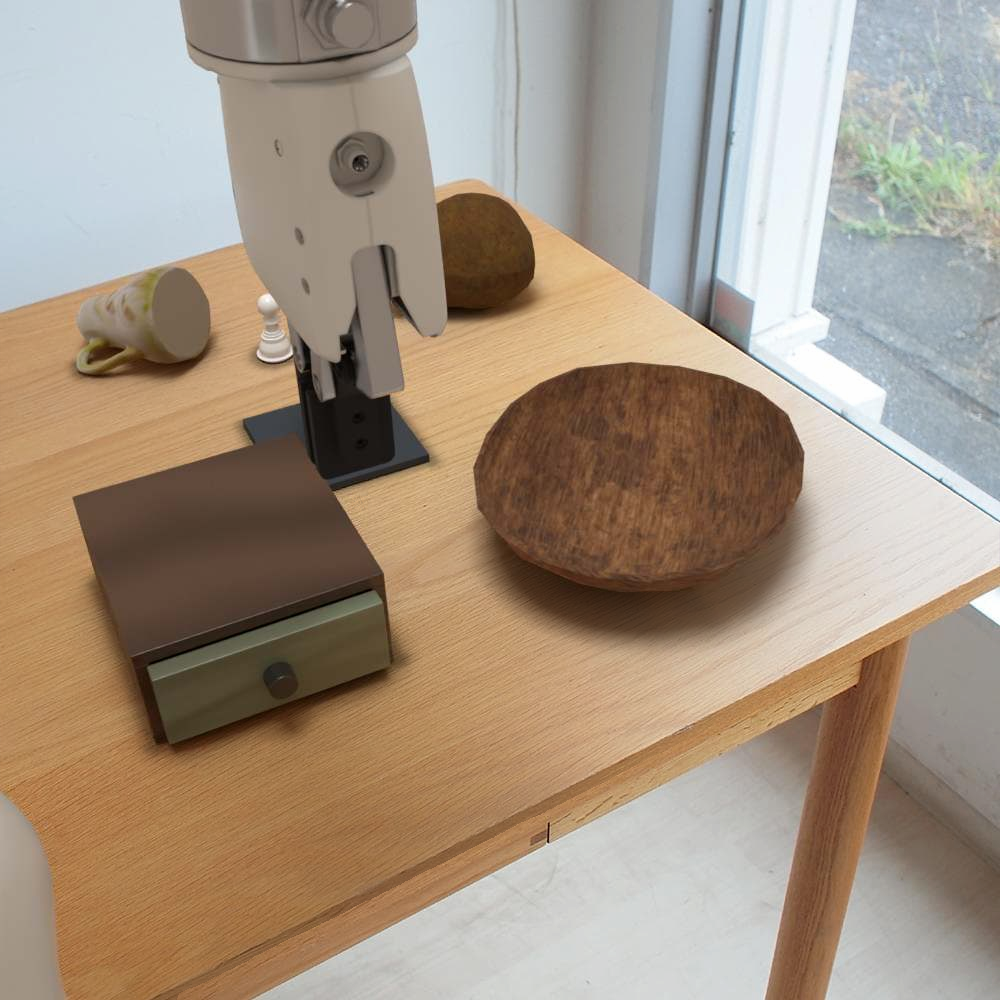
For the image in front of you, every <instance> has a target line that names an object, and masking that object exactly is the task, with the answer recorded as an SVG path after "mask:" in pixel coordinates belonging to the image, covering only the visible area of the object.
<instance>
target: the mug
mask: <svg viewBox="0 0 1000 1000" xmlns="http://www.w3.org/2000/svg"><path fill="white" fill-rule="evenodd" d="M211 319H212V318H211V306H210V301H209V299H208V297H207V295H206V293H205V290H204V289H203V287H202V286H201V284H200V282H199V281H198V280H197V278H195V276H194V275H193V274H192V273H190V272H189V271H188V270H187V269H185V268H182V267H179V266H159V267H154V268H151V269H148V270H146V271H143V272H142V273H139V274H137V275H136V276H134V277H132V278H131V279H130V280H129V281H127V282H126V283H124V284H123V285H122V286H120V287H119V288H117V289H116V290H115V291H113V292H110V293H106V294H101V295H94V296H90V297H89V298H86V300H84V301H83V303H81V305H80V307H79V310H78V313H77V316H76V324H77V328H78V330H79V333H80V334H81V336H82V338H83V339H84V340H85V341H86V342H87V343H88V344H87V345H86V346H85V347H83V348H82V349H81V350H80V352H79V353H78V354H77V357H76V363H75V364H76V369H77V370H78V371H79V372H80V373H82V374H85V375H94V376H95V375H100V374H104V373H106V372H109V371H111V370H113V369H116V368H117V367H120V366H122V365H124V364H128V363H130V362H134V361H137V360H138V361H139V360H141V359H145V360H147V361H151V362H154V363H159V364H177V363H181V362H184V361H187V360H192V359H195V358H197V357H199V356H200V354H201V353H202V352H203V351H204V349H205V347H206V345H207V343H208V341H209V338H210V333H211V326H212V325H211V323H212V321H211ZM105 348H119V349H123V351H121V352H119V353H116V354H115V355H113V356H110V358H108V359H106V360H104V361H101V362H100V363H95V364H88V363H89V359H90V357H91V356H92V354H93V353H95V352H96V351H97V350H101V349H105Z"/></svg>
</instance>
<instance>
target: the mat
mask: <svg viewBox="0 0 1000 1000" xmlns="http://www.w3.org/2000/svg"><path fill="white" fill-rule="evenodd" d="M391 411H392V422H393V434H394V445H395V456H394V458H393V459H392V460H391V461H390V462H388V463H385V464H381V465H378V466H374V467H371V468H367V469H364V470H361V471H357V472H354V473H350V474H347V475H343V476H340V477H337V478H333V479H329V480H326V479H325V480H326V481H327V483H328V485H329V486H330V488H331V489H332V491H333V492H334V491H337V490H338V489H343V488H345V487H350V486H352V485H355V484H358V483H361V482H365V481H368V480H372V479H375V478H379V477H381V476H385V475H388V474H391V473H394V472H398V471H401V470H404V469H408V468H411V467H414V466H417V465H420V464H424V463H426V462H429V461H430V453H429V452H428V450H427V449H426V447H424V444H423V443H422V442H421V441H420V440H419V438H418V437H417V436H416V434H415V433H414V432H413V430H412V429H411V428H410V426H409V425H408V424H407V423H406V421H405V420H404V418H403V417H402V415H400V413H399V412H398V410H397V409H396V407H394V405H393V404H392V403H391ZM242 424H243V427H244V429H245V431H246V432H247V434H248V436H249V438H250V439H251V441H252V443H253V444H257V443H260V442H263V441H267V440H270V439H274V438H277V437H281V436H284V435H288V434H291V433H295V432H296V434H297V435H298V437H299V438H300V440H301V442H302V443H303V445H304V446H305V448H306V442H305V435H304V428H303V420H302V413H301V406H300V402H299V403H295V404H292V405H288V406H285V407H281V408H277V409H273V410H270V411H266V412H263V413H259V414H256V415H252V416H249V417H245V418H242Z"/></svg>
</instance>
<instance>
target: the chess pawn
mask: <svg viewBox="0 0 1000 1000" xmlns="http://www.w3.org/2000/svg"><path fill="white" fill-rule="evenodd" d="M256 307H257V310H258V312H259V314H261V315H262V316H264V317H263V318H262V319H261V322H262V325H264V326H265V327H264V328H263V331H262V332H261V334H260V337H261V338H260V340H259V342H258V348H257V350H256V357H257V358H258V359H259V360H261V361H264V362H265V363H270V364H274V363H275V364H276V363H281V362H284V361H287V360H288V359H289V358H291V357H293V351H292V345H291V340H290V338H289V337H288V336H287V335H286V332H285V330H284V329H283V328H282V327H281V326H280V325H279V323H280V322H281V320H282V319H281V317H280V316H279V315H278V313H279V312H280V311H281V309H280V307H279V306H278V305H277V303H276V302H275V300H274V299H273V297H272V296H271V295H270V293H264V294H262V295H261V296H260V297H259V298H258V300H257V303H256Z"/></svg>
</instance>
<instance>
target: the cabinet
mask: <svg viewBox="0 0 1000 1000" xmlns="http://www.w3.org/2000/svg"><path fill="white" fill-rule="evenodd" d="M71 499H72V502H73V505H74V509H75V511H76V515H77V519H78V521H79V526H80V528H81V532H82V535H83V538H84V543H85V545H86V548H87V552H88V556H89V559H90V562H91V566H92V568H93V572H94V576H95V580H96V582H97V585H98V588H99V591H100V593H101V596H102V599H103V602H104V605H105V608H106V610H107V613H108V616H109V618H110V622H111V624H112V627H113V629H114V632H115V634H116V638H117V640H118V643H119V646H120V649H121V651H122V654H123V657H124V660H125V663H126V665H127V669H128V671H129V674H130V677H131V679H132V682H133V685H134V688H135V691H136V693H137V696H138V698H139V702H140V704H141V707H142V710H143V712H144V715H145V718H146V721H147V724H148V727H149V730H150V732H151V735H152V738H153V740H154V744H155V745H160V744H163V743H166V742H169V741H168V739H167V736H166V733H165V731H164V727H163V724H162V720H161V717H160V713H159V710H158V706H157V703H156V699H155V695H154V692H153V688H152V685H151V681H150V678H149V674H148V671H147V666H149V665H152V664H154V662H153V661H156V660H159V659H162V658H165V657H168V656H171V655H174V654H177V653H180V652H183V651H186V650H189V649H192V648H195V647H198V646H201V645H204V644H207V643H210V642H212V641H215V640H218V639H221V638H224V637H227V636H230V635H233V634H236V633H239V632H242V631H245V630H248V629H251V628H254V627H257V626H260V625H263V624H266V623H269V622H272V621H275V620H278V619H281V618H284V617H287V616H290V615H293V614H296V613H299V612H302V611H305V610H308V609H311V608H314V607H317V606H320V605H323V604H326V603H329V602H332V601H335V600H338V599H341V598H344V597H347V596H350V595H353V594H356V596H357V595H360V594H363V593H366V592H369V591H372V590H376V592H377V594H378V595H379V597H380V598H381V600H382V602H383V607H384V615H385V624H386V632H387V640H388V649H389V657H390V662H393V661H394V660H395V658H394V650H393V641H392V634H391V623H390V616H389V607H388V599H387V588H386V580H385V572H384V571H383V569H382V567H381V566H380V564H379V563H378V560H376V558H375V557H374V554H373V553H372V552H371V551H370V549H369V547H368V545H367V543H366V542H365V541H364V539H363V537H362V536H361V534H360V533H359V531H358V529H357V528H356V526H355V524H354V523H353V521H352V520H351V518H350V517H349V515H348V513H347V511H346V510H345V508H344V507H343V505H342V504H341V502H340V501H339V499H338V497H337V495H335V493H334V490H333V491H332V489H331V488H330V486H329V485H328V483H327V481H326V480H325V479H323V478H322V477H321V476H320V474H319V473H318V471H317V469H316V465H314V464H313V463H312V462H311V460H310V458H309V457H308V455H307V449H306V448H305V446H304V445H303V443H302V442H301V440H300V438H299V437H298V435H297V434H296V432H295V433H291V434H288V435H284V436H281V437H277V438H274V439H270V440H267V441H263V442H260V443H257V444H254V443H253V444H250V445H247V446H243V447H239V448H236V449H232V450H229V451H226V452H222V453H219V454H216V455H211V456H209V457H205V458H202V459H198V460H195V461H191V462H188V463H184V464H180V465H178V466H177V465H176V466H174V467H171V468H166V469H163V470H160V471H156V472H153V473H149V474H145V475H143V476H139V477H136V478H133V479H129V480H126V481H123V482H118V483H114V484H111V485H108V486H104V487H100V488H99V489H98V488H97V489H95V490H91V491H87V492H84V493H80V494H77V495H73V496H72V498H71Z"/></svg>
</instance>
